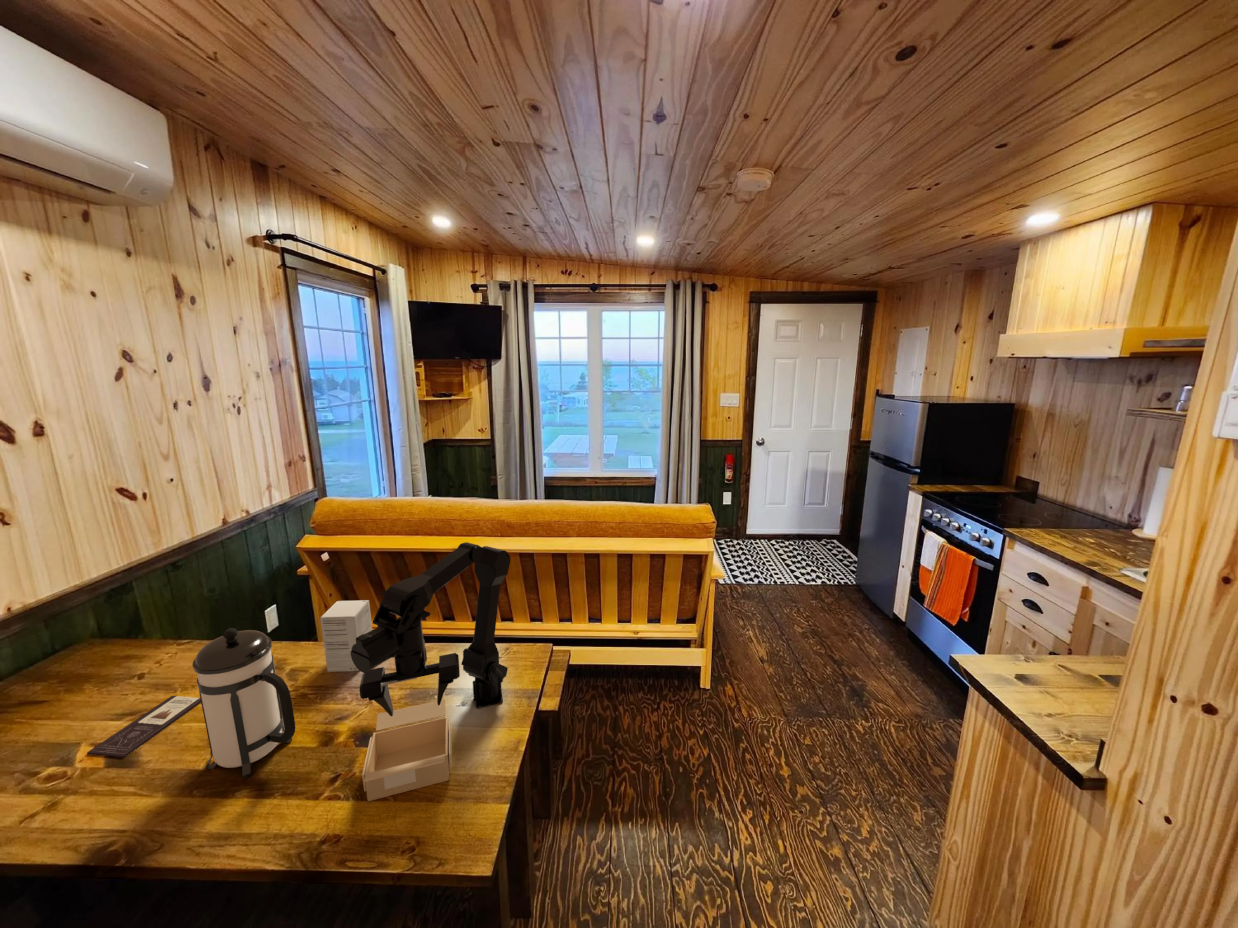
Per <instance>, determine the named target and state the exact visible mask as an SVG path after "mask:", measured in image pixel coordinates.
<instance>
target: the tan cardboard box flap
mask: <svg viewBox="0 0 1238 928" xmlns="http://www.w3.org/2000/svg"><path fill="white" fill-rule="evenodd" d="M442 717H446V699H442V700H441V703H440V705H438V703H437V700H435V701H430V702H425V703H421V704H417V705H412V706H408V707H403V708H398V709H393V716H390V715H389V714H388V713H387V712H386V711H383V712H379V713H377V715H376V727H375V732H379V731H383V730H388V729H392V728H397V727H401V726H406V725H410V724H415V723H419V722H424V721H428V720H433V719H437V718H442Z"/></svg>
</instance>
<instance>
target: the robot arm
mask: <svg viewBox="0 0 1238 928" xmlns="http://www.w3.org/2000/svg"><path fill="white" fill-rule="evenodd" d="M473 564H474V573H475V575H476V578H477V581H478V582H479V583H478V584H479V585H478V596H477V605H476V615H475V623H474V631H473V632H474V633H473V640H472V642H471V643H470V645H468V647H467V648H464V649H463V651H462V661H461V664H460V659H459V654H458V653H457V652H453V653H448V654H447V653H446V654H443V655H439V657H438V662H436V663H430V664H427V661H428V657H427V656H428V655H427V648H426V642H425V641H426V640H425V639H424V632H423V620H425V619H426V618H429V617H430V616H431V612H429V611H427V610H425V609H426V608H427V607H428V606H429V605H430V604H431V601H432V598H433V596H434V595H435V594H436V592H437V591H439V590H440V589H441V588H443V587H444V586H446V584H448V583H449V582H450V581H452V580H453V579H454V578H455V577H457V576H459V575H460V574H461V573H462V572H463V571H465V570H466V569H467V568H468V567H470V566H471V565H473ZM510 565H511V555H510V554H509V552H508V551H506V550H504V549H501V548H496V547H491V546H487V545H485V546H481V545H478V544H476V543H475V544H474V543H470V542H466V541H465V542H461V543H460V544H459V545H458V547H457V548H456V549H454V550H453V551H451V552H450V553H449V554H447V555H446V556H444V557H443V558H442V559H440V560H439V561H438V562H436V563H434V565H432V566H430V568H428V569H426V570H425V571H423V572H422V573H421V574H418V575H415V576H411V577H409V578H404V579H402V580H400V581H398V582H396V583H394V584H392V585H390V586H389V587H388V588H387V589H386V590H385V591H384V595H383V598H382V600H381V603H380V605H379V607H378V609H377V611H376V613H375V615H374V617H373V620H372V621H371V623H372V625H375V626H377V627H375V628H374V629H373V628H372V630H371V631H370V632H368V633H366V634H362V635H360V636H358V637H357V638H356V644H354V645H353V646H352V650H351V652H350V653H351V658H352V661H353V663H354V665H355V666H356V668H357V669H358V670H359V671H360V672H361V673H362V676H361V680H360V684H359V696H360V699H362V700H364V699H365V700H366V699H367V700H368V701H370V702H371V701H374V702H375V703H377V704H378V705H379V706H381V707H382V709H383V710H384V712H387V713H388V714H389V715H390V716H393V710H394V706H393V703H392V698H391V694H390V691H389V685H392V684H396V683H397V684H398V683H401V682H406V681H412V680H416V679H417V678H421V677H426V676H431V675H436V674H438V679H437V680H438V681H437V699H436V701H437V703H438V705H440V703H441V700H443V697H444V694H445V692H446V690H447V688H448V686H449V685H451V684H452V683H454V681H455V680H457V679H459V678H461V677H460V674H461V673H460V665H461V666H462V668H463V671H464V672H465V673H467V674H468V676H469V677H472V678H474V680H473V681H472V690H473V691H472V693H473V701H474V702H475V707H476V708H477V709H478V708H484V707H488V706H492V705H497V704H502V703H503V702H504V699H503V691H502V683H503V682H504V679H505V678H506V677H507V676H508V675H507V674H508V667H507V666H505V665H503V664H501V663H500V652H499V650H498V647H497V645H496V642H495V636H496V627H497V626H496V625H497V618H498V617H497V616H498V608H499V599H500V598H499V597H500V589H501V584H502V582H503V581H504V580H505V579H506V577H507V576H508V573H509V570H510ZM389 614H392V615H395V616H398V617H397V618H394V617H391V616H388V615H389ZM391 658H392V659H393V658H394V665H395V671H393V672H389V673H386V670H385V667H384V666H383V667H378V666H380V665H382V664H383V663H385V662H387V661H388V660H390V659H391ZM376 667H377V668H376Z"/></svg>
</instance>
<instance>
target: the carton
mask: <svg viewBox="0 0 1238 928" xmlns="http://www.w3.org/2000/svg"><path fill="white" fill-rule="evenodd" d="M452 736H453V735H452V722H451V719H449V716H446V715H445V716H442V717H438V718H433V719H429V720H424V721H420V722H415V723H411V724H406V725H402V726H397V727H393V728H388V729H384V730H379V731H375V732H373V735H372V736H370V737H369V738H370V739H369V741H368V747H367V752H366V756H365V760H364V765H363V768H362V776H361V777H362V784H363V791H364V792H365V793H366V797H367V802H371V801H375V800H379V799H382V798H386V797H389V796H393V795H397V794H401V793H402V794H403V793H405V792H409V791H412V790H417V789H421V788H424V787H428V786H432V785H436V784H438V783H439V784H440V783H443V782H447V781H450V770H452V768H453V767H452V765H453V764H452V762H453V761H452V757H453V755H452V754H453V753H452V749H453V747H452V746H453V744H452V742H453V741H452ZM442 755H445V759H444V762H442V763H438V764H434V765H430V766H426V767H422V768H418V769H414V770H410V771H407V772H403V773H399V774H395V775H391V776H387V777H383V778H379V779H375V780H371V781H367V782H363V780H364V779H365V777H366V775H367V774H369V773H373V772H377V771H381V770H385V769H389V768H393V767H397V766H401V765H405V764H409V763H413V762H417V761H421V760H425V759H429V758H433V757H437V756H442Z"/></svg>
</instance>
